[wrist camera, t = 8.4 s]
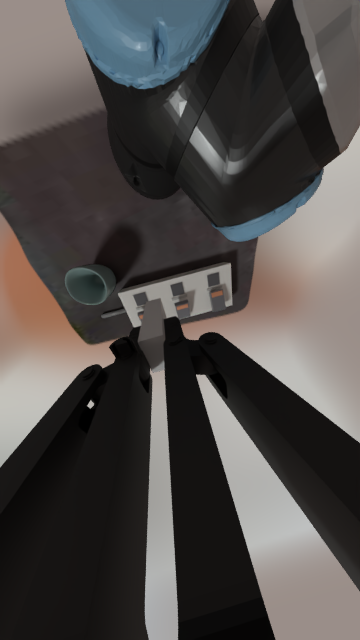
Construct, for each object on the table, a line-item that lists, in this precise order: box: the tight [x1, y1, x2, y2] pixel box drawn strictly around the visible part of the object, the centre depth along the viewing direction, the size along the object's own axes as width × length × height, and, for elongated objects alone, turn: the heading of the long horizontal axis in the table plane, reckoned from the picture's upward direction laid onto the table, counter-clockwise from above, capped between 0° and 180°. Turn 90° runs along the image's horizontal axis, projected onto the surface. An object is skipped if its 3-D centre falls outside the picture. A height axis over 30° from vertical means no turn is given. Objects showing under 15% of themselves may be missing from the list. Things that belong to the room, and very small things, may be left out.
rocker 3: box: [209, 289, 226, 312], centre depth 37 cm, size 6×4×1 cm, turn 13°
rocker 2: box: [174, 300, 190, 319], centre depth 37 cm, size 6×4×1 cm, turn 12°
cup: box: [65, 264, 116, 305], centre depth 31 cm, size 8×8×10 cm
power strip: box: [101, 262, 232, 327], centre depth 39 cm, size 12×39×4 cm, turn 103°
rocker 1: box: [137, 311, 144, 323], centre depth 37 cm, size 6×4×1 cm, turn 12°
